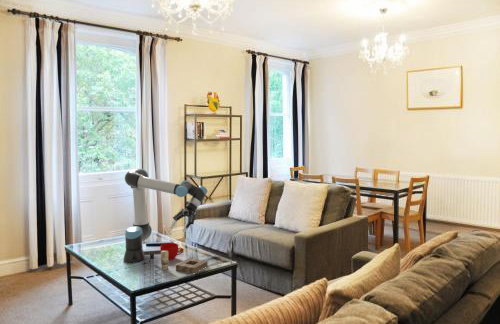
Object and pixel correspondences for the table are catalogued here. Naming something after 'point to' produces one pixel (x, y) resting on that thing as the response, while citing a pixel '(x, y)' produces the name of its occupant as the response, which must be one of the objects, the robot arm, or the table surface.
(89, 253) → the table surface
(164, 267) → the peg
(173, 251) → the ceramic cup
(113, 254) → the table surface
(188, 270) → the board
